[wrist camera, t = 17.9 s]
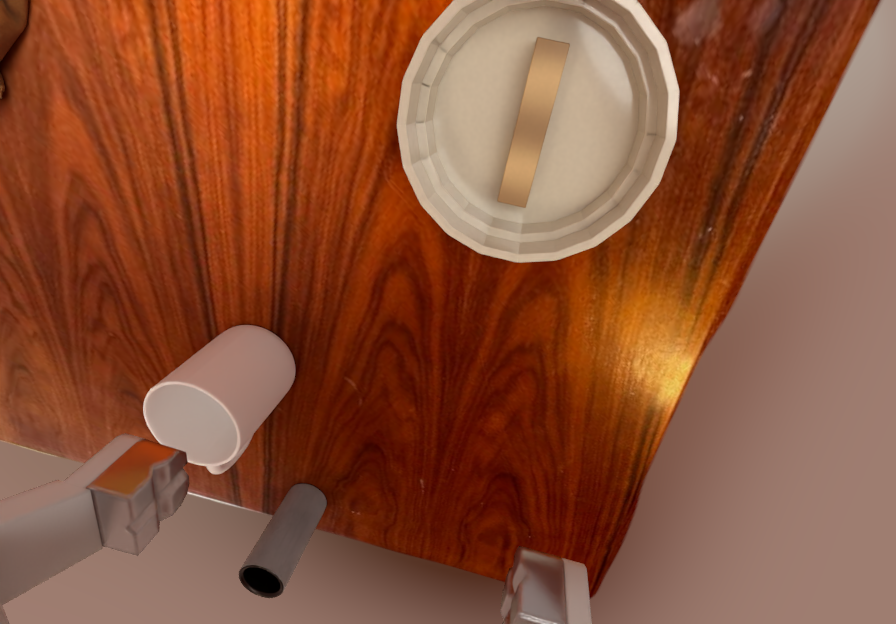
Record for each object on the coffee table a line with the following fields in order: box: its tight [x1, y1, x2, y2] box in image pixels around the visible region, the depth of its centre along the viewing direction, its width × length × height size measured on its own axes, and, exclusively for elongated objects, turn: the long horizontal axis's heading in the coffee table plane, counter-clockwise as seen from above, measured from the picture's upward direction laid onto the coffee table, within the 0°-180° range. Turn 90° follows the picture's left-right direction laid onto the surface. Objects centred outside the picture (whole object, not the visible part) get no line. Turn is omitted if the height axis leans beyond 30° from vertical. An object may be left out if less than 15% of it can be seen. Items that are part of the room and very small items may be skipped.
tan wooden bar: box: [497, 37, 570, 208], centre depth 32 cm, size 10×2×3 cm, turn 169°
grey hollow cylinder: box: [239, 484, 327, 598], centre depth 50 cm, size 4×4×10 cm
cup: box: [143, 325, 296, 474], centre depth 44 cm, size 8×12×10 cm
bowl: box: [397, 0, 680, 263], centre depth 31 cm, size 16×16×6 cm
